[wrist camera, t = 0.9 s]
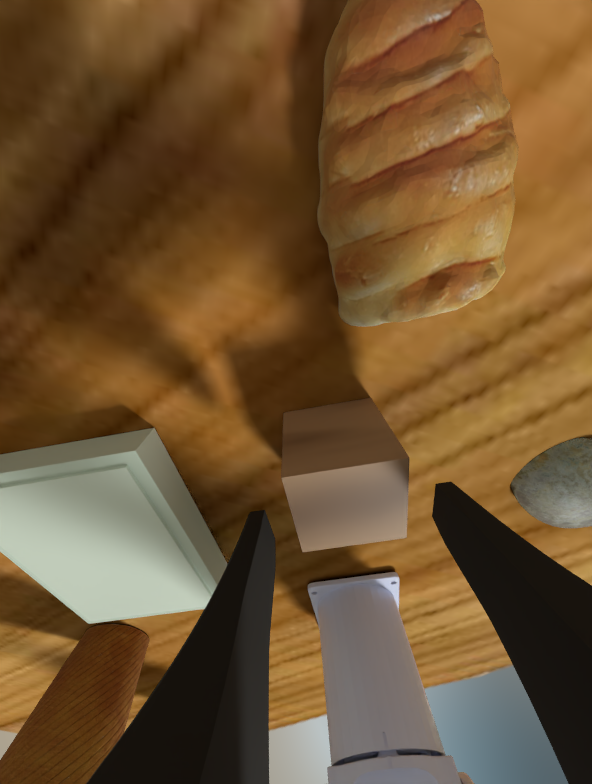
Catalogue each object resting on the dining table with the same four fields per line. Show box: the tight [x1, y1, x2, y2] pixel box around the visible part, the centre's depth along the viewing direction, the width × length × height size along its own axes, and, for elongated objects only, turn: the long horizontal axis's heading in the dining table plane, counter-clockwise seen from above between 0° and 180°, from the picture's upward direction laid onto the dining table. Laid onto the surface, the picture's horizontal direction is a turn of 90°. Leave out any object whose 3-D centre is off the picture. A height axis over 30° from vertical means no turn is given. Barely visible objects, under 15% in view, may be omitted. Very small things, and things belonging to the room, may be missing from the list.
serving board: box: [0, 428, 227, 624], centre depth 17 cm, size 16×12×2 cm
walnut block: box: [281, 398, 409, 552], centre depth 13 cm, size 5×5×5 cm
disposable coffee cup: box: [0, 624, 149, 784], centre depth 20 cm, size 10×10×12 cm
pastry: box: [317, 0, 518, 326], centre depth 8 cm, size 9×7×4 cm
